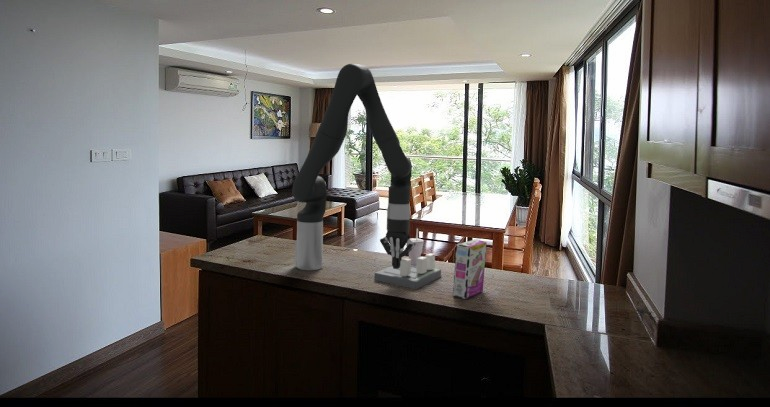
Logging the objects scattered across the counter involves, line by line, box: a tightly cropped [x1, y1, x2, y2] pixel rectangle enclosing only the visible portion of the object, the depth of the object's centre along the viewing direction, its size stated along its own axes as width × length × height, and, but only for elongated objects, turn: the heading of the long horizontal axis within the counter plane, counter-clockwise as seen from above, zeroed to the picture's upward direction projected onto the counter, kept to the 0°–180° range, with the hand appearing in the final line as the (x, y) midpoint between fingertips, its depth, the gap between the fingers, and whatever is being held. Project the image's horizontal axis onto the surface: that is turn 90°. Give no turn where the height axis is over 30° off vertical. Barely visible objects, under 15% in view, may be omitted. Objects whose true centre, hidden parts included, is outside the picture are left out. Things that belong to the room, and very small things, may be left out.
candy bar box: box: [452, 239, 488, 300], centre depth 146 cm, size 11×5×16 cm, turn 141°
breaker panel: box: [373, 252, 442, 290], centre depth 161 cm, size 16×18×8 cm
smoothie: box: [408, 228, 425, 265], centre depth 179 cm, size 6×6×14 cm
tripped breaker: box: [400, 258, 411, 276], centre depth 155 cm, size 2×4×5 cm, turn 148°
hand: (396, 268), depth 157 cm, fingers closed
